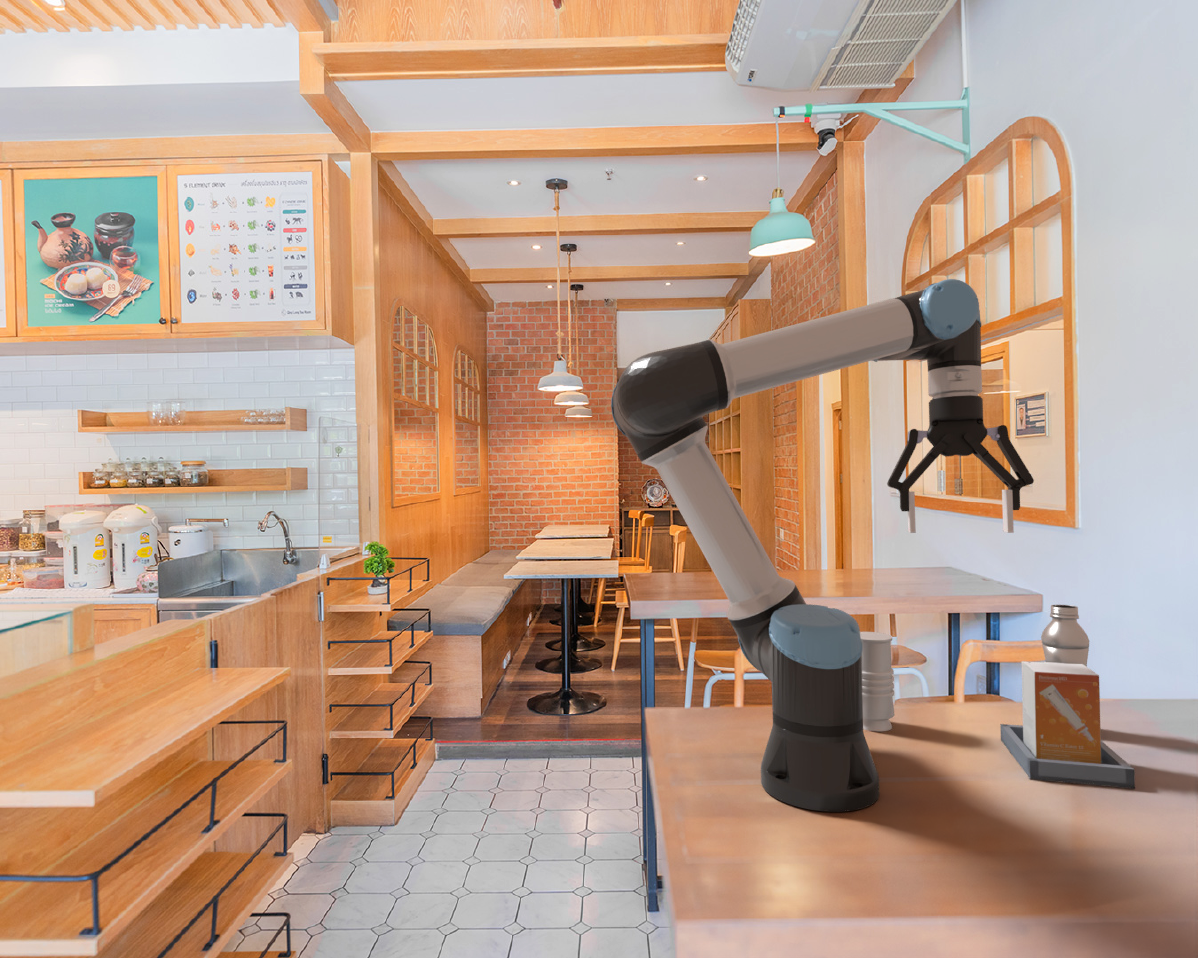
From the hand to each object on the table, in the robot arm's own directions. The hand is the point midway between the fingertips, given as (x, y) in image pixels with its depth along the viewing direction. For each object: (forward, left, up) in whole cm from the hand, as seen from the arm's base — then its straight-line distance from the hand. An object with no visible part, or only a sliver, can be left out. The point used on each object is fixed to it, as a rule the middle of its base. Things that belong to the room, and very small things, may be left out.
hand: (959, 532), depth 107 cm
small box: (+11, -5, -32) cm, 35 cm away
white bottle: (-13, +5, -33) cm, 36 cm away
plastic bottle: (+17, +10, -33) cm, 38 cm away
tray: (+12, -5, -33) cm, 35 cm away
